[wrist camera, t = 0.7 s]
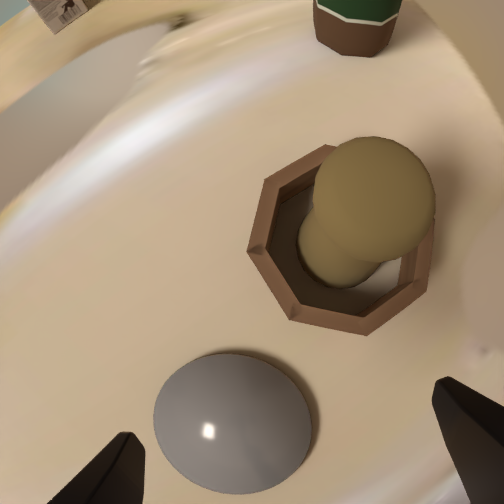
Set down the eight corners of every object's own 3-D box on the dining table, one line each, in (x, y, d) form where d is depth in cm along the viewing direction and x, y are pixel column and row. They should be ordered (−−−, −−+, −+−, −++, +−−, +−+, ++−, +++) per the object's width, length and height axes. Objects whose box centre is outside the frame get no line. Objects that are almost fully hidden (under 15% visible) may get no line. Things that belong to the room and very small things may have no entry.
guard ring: (441, 268, 20) (461, 262, 17) (314, 360, 20) (318, 368, 17) (355, 144, 23) (362, 123, 20) (227, 220, 23) (218, 206, 20)
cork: (328, 186, 22) (356, 89, 12) (396, 235, 21) (476, 174, 10) (277, 253, 22) (270, 197, 11) (350, 307, 21) (412, 300, 10)
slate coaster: (338, 450, 19) (340, 453, 18) (209, 507, 19) (207, 511, 18) (257, 323, 21) (256, 323, 20) (130, 394, 21) (126, 396, 20)
